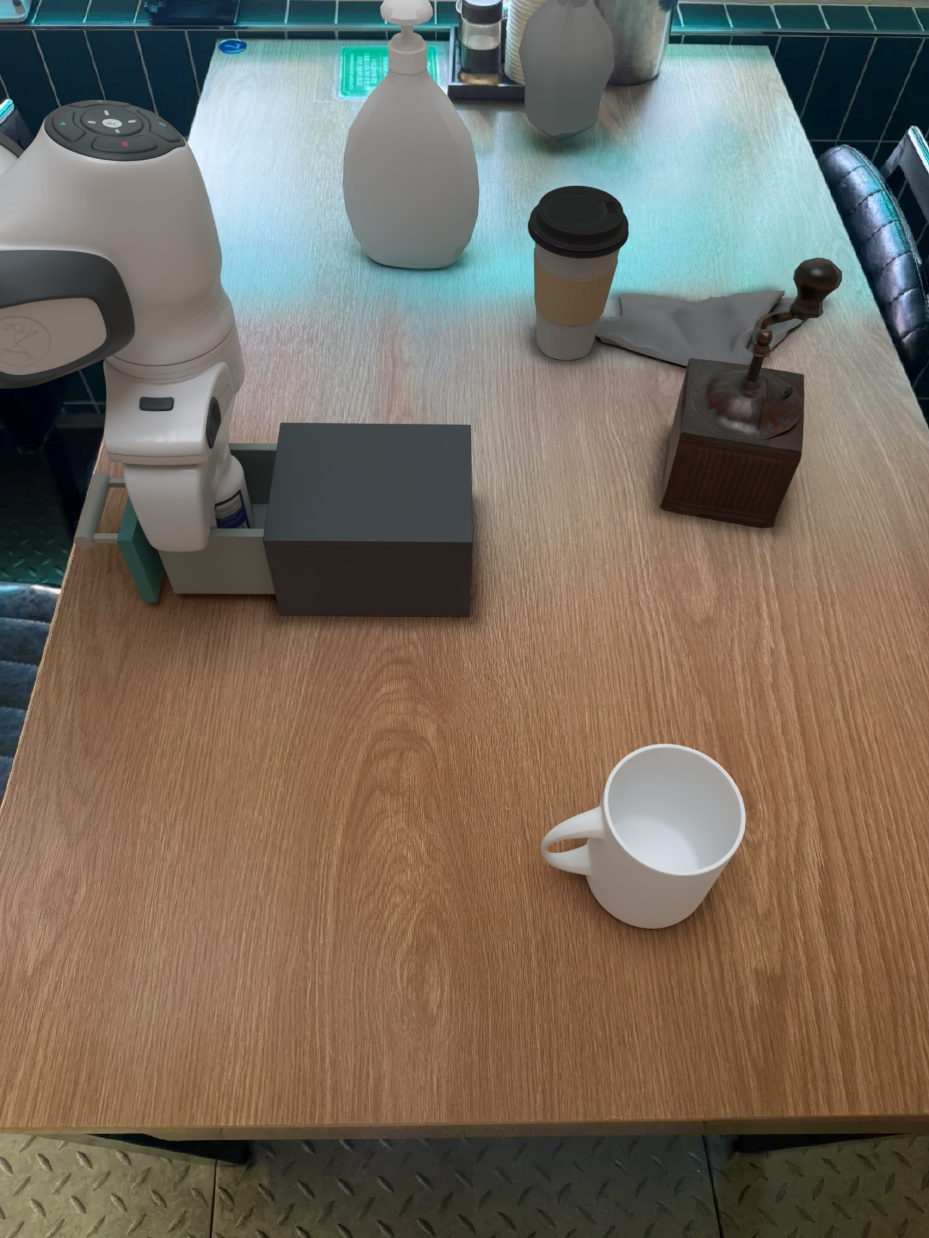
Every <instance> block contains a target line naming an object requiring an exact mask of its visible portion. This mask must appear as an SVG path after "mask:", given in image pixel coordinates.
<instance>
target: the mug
mask: <svg viewBox="0 0 929 1238" xmlns="http://www.w3.org/2000/svg"><path fill="white" fill-rule="evenodd" d="M746 816H747V813H746V808H745V802H744V799H743V796H742V794H741V792H740V789H739V787H738V786H737V784H736V783H735V780H734V779H733V778H732V777H731V775H730V774H729V773H728V772H727V770H726V769H724V768H723V766H721V765H720V764H719V763H718V762H717V761H716V760H714V759H713V758H711V757H710V756H708V755H706V754H705V753H703V752H701V751H699V750H697V749H694V748H691V747H688V746H684V745H680V744H673V743H658V744H651V745H647V746H643V747H641V748H637V749H636V750H635V749H634V751H631V752H629V753H628V754H626V756H624V757H623V758H622V759H620V761H618V763H616V765H615V766H614V767H613V768H612V770H611V771H610V773H609V775H608V777H607V779H606V782H605V785H604V789H603V792H602V795H601V798H600V801H599V804H598V806H597V807H594V808H591V809H589V810H586V811H584V812H581V813H578V814H576V815H574V816H571V817H569V818H567V819H566V820H564V821H561V822H560V823H559V824H557V825H555V826H554V827H552V829H550V830H549V831H548V832H547V834H545V835H544V837H543V839H542V841H541V843H540V848H539V849H540V850H539V851H540V855H541V857H542V859H543V860H544V861H545V863H547V864H549V865H550V866H552V867H554V868H556V869H558V870H561V871H563V872H567V873H572V874H577V875H583V876H585V878H586V881H587V885H588V886H589V888H590V890H591V893H592V894H593V896H594V898H595V900H597V902H598V903H599V905H600V906H601V907H602V908H603V909H604V910H605V911H606V912H607V913H609V914H610V915H611V916H613V917H614V918H615V919H617V920H619V921H621V922H623V923H625V924H627V925H629V926H633V927H637V928H641V929H664V928H667V927H671V926H673V925H676V924H679V923H680V922H682V921H684V920H685V919H687V918H689V916H691V915H692V914H693V913H694V912H695V911H696V910H697V908H698V907H700V905H701V904H702V902H703V901H704V900H705V898H706V896H707V895H708V893H709V892H710V891H711V889H712V887H713V886H714V884H715V883H716V882H717V880H718V878H719V877H720V875H721V874H722V873H723V872H724V870H725V868H726V867H727V865H728V864H729V862H730V861H731V859H732V858H733V857H734V855H735V853H736V852H737V851H738V849H739V847H740V845H741V843H742V841H743V838H744V835H745V831H746V824H747V817H746ZM573 839H587V841H586V844H584V845H582V846H580V847H576V848H573V849H570V850H567V851H563V852H551V851H548V847H549V846H551V845H554V844H556V843H558V842H561V841H565V840H566V841H567V840H573Z"/></svg>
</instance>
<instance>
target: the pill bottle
mask: <svg viewBox="0 0 929 1238" xmlns="http://www.w3.org/2000/svg"><path fill="white" fill-rule="evenodd" d="M228 443H229V442H228ZM228 443H227V442H226V447H225V452H224V457H223V465H222V470H221V475H220V480H219V486H218V491H217V496H216V501H215V506H214V507H216V508H217V511H218V516H219V525H218V529H253V528H254V524H255V519H254V514H253V509H252V505H251V501H250V497H249V493H248V488H247V484H246V480H245V475H244V471H243V468H242V466H241V464H240V462H239V461H238V460H237V459H236V458H235V457H234V456H232V455H231V453H230V449H229V446H228Z"/></svg>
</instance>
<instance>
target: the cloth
mask: <svg viewBox="0 0 929 1238" xmlns="http://www.w3.org/2000/svg"><path fill="white" fill-rule="evenodd" d="M785 295H786V291H785V289H784V290H775V291H774V290H773V291H772V290H766V291H758V292H746V293H745V292H743V293H734V294H731V295H729V296H712V297H711V296H709V297H708V298H705V299H703V300H700V301H696V302H692V301H687V300H686V301H685V300H681V299H674V298H669V297H663V296H656V295H646V294H637V293H621V294H619V302H620V308H621V315H620V316H619V317H617V318H616V319H614V320H606V321H599V324H598V328H597V331H596V335H595V338H599V339H600V340H601V342H602V343H604V344H609V345H614V346H617V347H621V348H623V349H626V350H629V351H633V352H636V353H640V354H643V355H646V356H650V357H653V358H656V359H659V360H663V361H666V362H670V363H674V364H677V365H681V366H685V367H687V364H688V361H689V358H695V359H704V360H712V361H721V362H728V363H735V364H742V365H749V366H750V364H751V361H752V358H753V354H752V353H751V350H752V346H753V343H752V333H753V329H754V326H755V323H756V321H757V320H758V319H759V318H760V317H761V316H764V315H766V314H769V313H774V312H780V311H788V310H790V309H789V307H790V304H791V303H793V301H794V300H795V298H796V297H786V298H785V297H784V296H785ZM803 322H804V321H801V320H800V319H796V318H795V319H792V320H788V321H785V322H781V323H776V324H772V325H770V326H768V327H766V329H768V330H770V331H771V332H772V334H773V339H772V341H771V343H770V344H769V347H770V351H771V350H772V349H773V348H775V346H776V345H778V344H779V343H781V341H782V340H784V338H785V337H786V336H787V334H788V332H789V331H791V330H792V329H794V328H796V327H797V326H799V325H801V324H802V323H803Z"/></svg>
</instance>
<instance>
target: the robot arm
mask: <svg viewBox="0 0 929 1238" xmlns="http://www.w3.org/2000/svg"><path fill="white" fill-rule="evenodd" d="M215 219H216V218H215V215H214V212H213V207H212V204H211V200H210V197H209V193H208V190H207V188H206V183H205V180H204V177H203V174H202V172H201V169H200V166H199V163H198V161H197V159H196V157H195V154H194V152H193V150H192V148H191V146H190V145H189V143H188V141H187V140H186V139H185V138H184V137H183V135H182V133H180V132H179V131H178V130H177V129H176V127H174V126H173V125H172V124H170V122H168V121H167V120H165V119H163V118H162V117H161V116H160V115H158V114H156V113H154V112H153V111H151V110H148V109H145V108H142V107H139V106H136V105H133V104H131V103H129V102H124V101H123V102H122V101H116V100H106V99H91V100H89V99H87V100H81V101H76V102H72V103H69V104H66V105H63V106H59V107H58V108H56V109H54V110H52V111H51V112H50V113H48V115H47V116H46V117H44V119H43V122H42V124H41V126H40V128H39V130H38V133H37V134H36V136H35V138H34V139H33V140H32V142H31V143H30V145H28V146H27V148H26V149H25V150H24V149H23V148H22V147H21V146H20V145H19V144H17V143H16V141H14V140H13V139H12V138H10V137H9V136H7V134H5V133H3V132H2V131H0V389H22V388H24V389H25V388H29V387H34V386H39V385H42V384H45V383H48V382H51V381H53V380H56V379H59V378H61V377H65V376H67V375H69V374H72V373H75V372H77V371H79V370H82V369H85V368H86V367H89V366H91V365H94V364H97V363H98V362H101V361H103V364H102V366H103V373H104V380H105V388H106V389H105V390H106V399H105V414H104V424H103V445H104V448H105V452H106V454H107V456H108V458H109V460H110V461H111V462H112V463H121V464H122V471H123V472H122V474H123V478H124V480H125V485H126V488H125V489H126V492H127V495H128V496H129V498H130V500H131V503H132V505H133V508H134V511H135V513H136V515H137V518H138V520H139V522H140V525H141V527H142V529H143V531H144V533H145V535H146V538H147V539H148V541H149V543H150V544H151V545H152V546H153V547H154V548H156V549H158V550H162V551H169V552H193V551H201V550H203V549H205V548H206V546H207V544H208V538H209V532H210V528H216V529H218V525H219V516H218V511H217V508H216V507H214V506H215V501H216V496H217V491H218V486H219V480H220V475H221V470H222V465H223V457H224V452H225V447H226V442H227V443H228V444H229V443H230V442H229V433H230V429H231V422H232V419H233V413H234V408H235V407H234V406H235V403H236V396H237V393H238V392H239V391H240V389H241V388H242V386H243V383H244V382H245V376H246V367H245V366H246V365H245V361H244V357H243V356H244V355H243V351H242V346H241V340H240V337H239V331H238V327H237V322H236V321H237V320H236V317H235V311H234V307H233V304H232V302H231V298H230V297H229V295H228V293H227V292H226V290H225V288H224V285H223V283H222V270H223V253H222V247H221V242H220V237H219V232H218V228H217V224H216V220H215Z"/></svg>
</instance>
